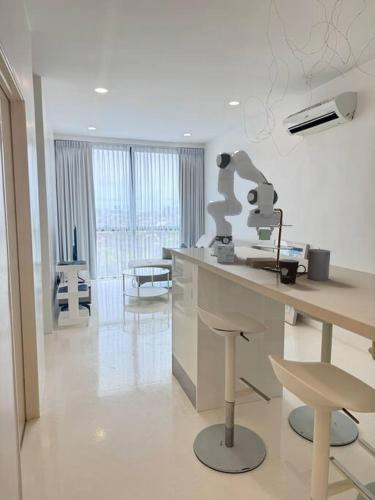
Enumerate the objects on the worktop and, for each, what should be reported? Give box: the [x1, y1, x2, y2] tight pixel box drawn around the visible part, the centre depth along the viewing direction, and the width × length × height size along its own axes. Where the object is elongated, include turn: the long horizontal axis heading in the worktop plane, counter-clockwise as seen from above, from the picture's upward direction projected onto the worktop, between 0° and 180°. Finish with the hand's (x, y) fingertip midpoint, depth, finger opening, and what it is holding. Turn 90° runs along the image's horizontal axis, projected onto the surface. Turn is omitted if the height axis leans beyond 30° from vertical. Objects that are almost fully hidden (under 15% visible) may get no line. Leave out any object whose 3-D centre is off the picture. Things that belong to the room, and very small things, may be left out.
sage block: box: [258, 228, 271, 241], centre depth 195 cm, size 5×5×6 cm
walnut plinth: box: [245, 257, 279, 269], centre depth 197 cm, size 14×16×4 cm
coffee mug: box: [278, 258, 307, 285], centre depth 150 cm, size 12×9×10 cm
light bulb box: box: [216, 244, 235, 264], centre depth 212 cm, size 11×7×11 cm, turn 84°
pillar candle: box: [306, 247, 331, 282], centre depth 161 cm, size 10×10×15 cm
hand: (264, 235), depth 195 cm, fingers closed on sage block, 5 cm apart
